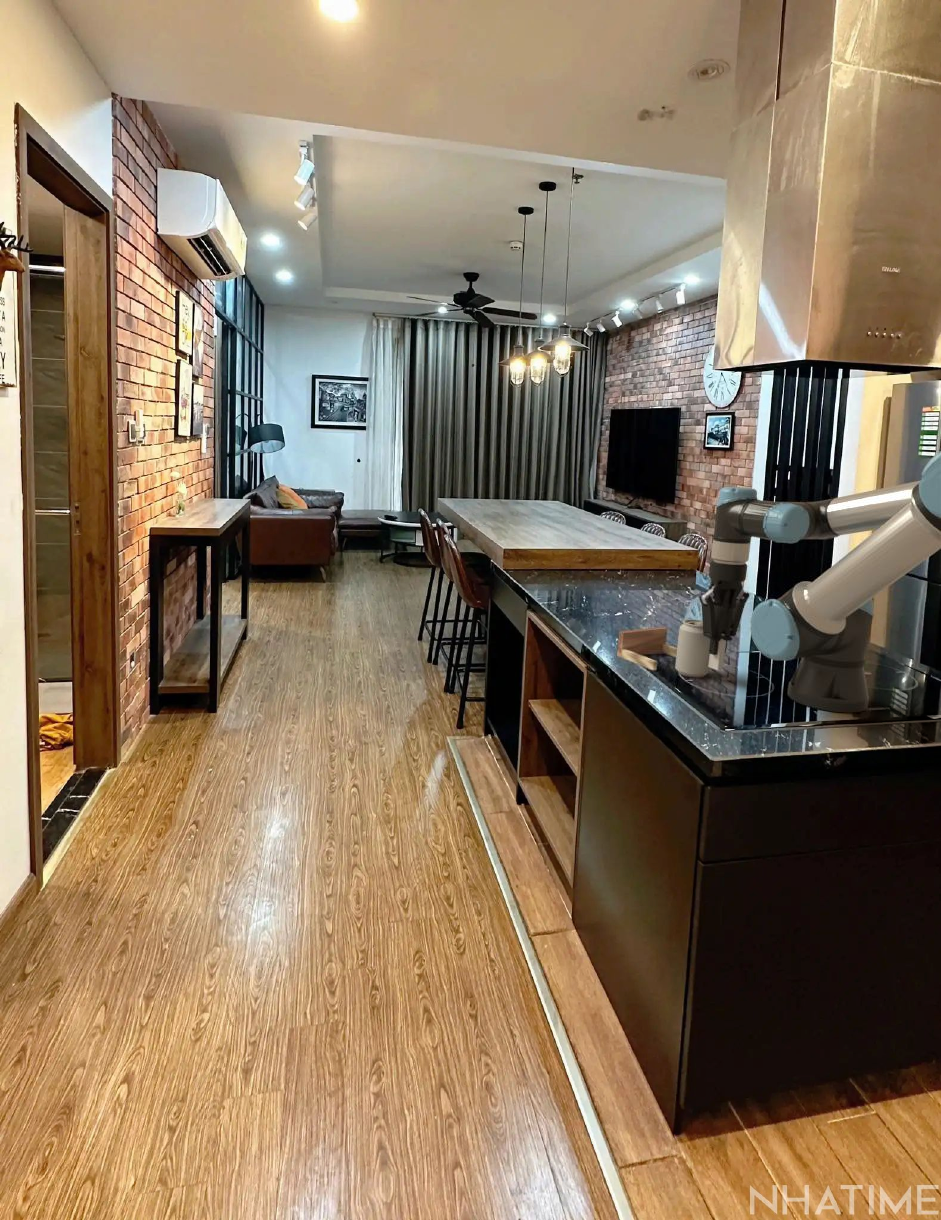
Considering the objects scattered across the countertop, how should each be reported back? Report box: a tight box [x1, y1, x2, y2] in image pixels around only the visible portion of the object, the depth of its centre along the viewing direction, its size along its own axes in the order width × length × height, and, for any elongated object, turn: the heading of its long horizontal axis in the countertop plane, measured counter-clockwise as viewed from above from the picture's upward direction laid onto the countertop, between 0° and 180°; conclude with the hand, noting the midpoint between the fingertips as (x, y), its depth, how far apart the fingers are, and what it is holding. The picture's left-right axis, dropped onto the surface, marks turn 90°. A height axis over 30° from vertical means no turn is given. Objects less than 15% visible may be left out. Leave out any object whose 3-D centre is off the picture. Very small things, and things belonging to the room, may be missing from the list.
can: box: [674, 618, 710, 678], centre depth 172 cm, size 8×8×12 cm
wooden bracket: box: [616, 626, 677, 671], centre depth 182 cm, size 12×14×6 cm
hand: (715, 668), depth 167 cm, fingers closed
